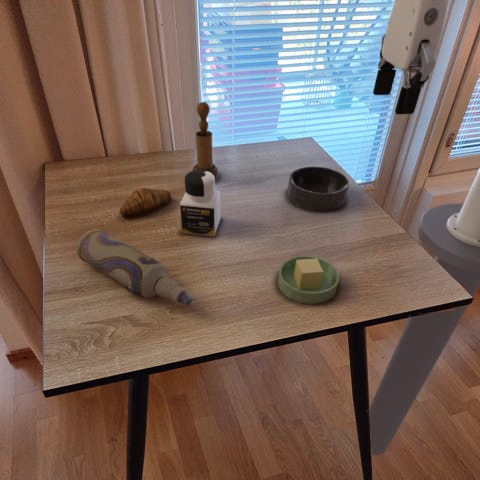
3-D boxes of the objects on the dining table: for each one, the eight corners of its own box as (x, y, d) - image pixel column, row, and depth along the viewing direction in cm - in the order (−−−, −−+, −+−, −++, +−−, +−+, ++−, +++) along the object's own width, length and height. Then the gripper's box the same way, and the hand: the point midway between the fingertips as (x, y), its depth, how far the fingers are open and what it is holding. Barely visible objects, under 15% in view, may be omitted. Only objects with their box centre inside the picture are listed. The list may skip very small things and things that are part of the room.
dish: (326, 264, 83) (328, 253, 81) (344, 301, 75) (347, 290, 74) (272, 268, 82) (273, 258, 80) (285, 306, 74) (286, 295, 72)
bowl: (334, 182, 108) (338, 165, 105) (353, 210, 98) (357, 192, 95) (282, 184, 106) (283, 167, 103) (295, 213, 96) (297, 195, 93)
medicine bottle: (182, 233, 89) (177, 181, 81) (189, 216, 94) (186, 165, 86) (214, 237, 89) (213, 184, 80) (220, 219, 94) (220, 168, 85)
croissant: (161, 193, 101) (159, 173, 98) (178, 204, 98) (177, 184, 95) (113, 212, 95) (108, 192, 91) (129, 224, 91) (126, 204, 88)
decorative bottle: (78, 267, 80) (69, 238, 76) (109, 250, 85) (102, 221, 80) (174, 328, 69) (171, 298, 65) (204, 305, 74) (203, 275, 69)
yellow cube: (313, 275, 80) (317, 258, 77) (319, 288, 77) (323, 271, 74) (293, 276, 79) (296, 259, 77) (298, 290, 77) (301, 273, 74)
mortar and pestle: (188, 180, 107) (183, 104, 94) (199, 169, 111) (196, 96, 98) (211, 185, 105) (209, 109, 92) (222, 174, 109) (222, 100, 97)
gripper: (481, -13, 55) (435, 121, 68) (422, -29, 67) (392, 87, 80) (428, -14, 54) (391, 122, 67) (378, -29, 67) (354, 88, 79)
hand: (392, 103), depth 73 cm, fingers open, 9 cm apart
